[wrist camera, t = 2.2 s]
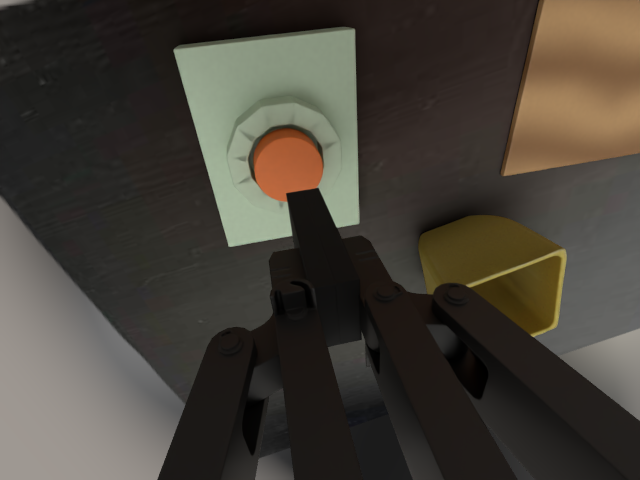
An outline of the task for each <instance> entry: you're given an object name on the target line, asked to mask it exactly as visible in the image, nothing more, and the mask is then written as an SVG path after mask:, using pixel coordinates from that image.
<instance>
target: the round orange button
mask: <svg viewBox="0 0 640 480" xmlns="http://www.w3.org/2000/svg"><path fill="white" fill-rule="evenodd" d="M253 164H254V172H255V178H256V181H257V183H258V185H259V187H260V188H261V190H262V191H263V192H264V193H265V194H266V195H268V196H269V197H271V198H273V199H275V200H278V201H283V202H287V197H286V193H290V192H296V191H302V190H308V189H314V188H317V186H318V185H319V183H320V181H321V178H322V175H323V161H322V158H321V155H320V153H319V152H318V150H317V148H316V146H315V144H314V143H313V141H312V140H311V139H310V138H309V137H308V136H307V135H306V134H304V133H303V132H301V131H298V130H295V129H291V128H282V129H277V130H274V131H272V132H270V133H268V134H267V135H265V136H264V137H263V138H262V139H261V140H260V142H259V143H258V145H257V147H256V149H255V152H254V157H253Z"/></svg>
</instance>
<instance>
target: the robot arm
mask: <svg viewBox="0 0 640 480" xmlns="http://www.w3.org/2000/svg"><path fill="white" fill-rule="evenodd" d="M286 197H287V203H288V210H289V216H290V223H291V229H292V236H293V242H294V247H295V248H294V249H289V250H283V251H278V252H273V254H272V256H271V258H270V260H269V267H270V275H271V283H272V290H271V294H270V299H271V304H272V308H273V315H272V316H271V318H270V319H269V320H268V321H267V322H266V323H265V324H263V325H262V326H260V327H258V328H256V329H254V330H252V331H248V330H247V329H245V328H241V327H233V328H227V329H225V330H223V331H221V332H219V333H218V334H217V335H215V336H214V337H213V338H212V340H211V341H210V343H209V344H208V347H207V349H206V352H205V355H204V357H203V360H202V363H201V365H200V368H199V371H198V373H197V376H196V379H195V381H194V384H193V387H192V389H191V392H190V394H189V397H188V400H187V402H186V405H185V408H184V410H183V413H182V416H181V418H180V421H179V424H178V426H177V429H176V432H175V434H174V437H173V440H172V442H171V445H170V448H169V450H168V453H167V456H166V458H165V461H164V464H163V466H162V469H161V472H160V474H159V477H158V480H255V476H256V470H257V465H258V459H259V453H260V448H261V442H262V436H263V430H264V425H265V419H266V413H267V407H268V402H269V396H270V395H272V394H273V393H275V392H277V391H279V390H280V389H282V388H283V391H284V399H285V407H286V415H287V423H288V431H289V439H290V447H291V456H292V464H293V472H294V480H363V477H362V473H361V470H360V466H359V462H358V459H357V455H356V452H355V447H354V444H353V440H352V436H351V433H350V429H349V425H348V421H347V418H346V414H345V410H344V406H343V403H342V399H341V395H340V392H339V388H338V384H337V380H336V377H335V373H334V369H333V366H332V362H331V358H330V354H329V351H328V347H330V346H334V345H339V344H344V343H348V342H353V341H358V340H362V338H361V330H362V333H363V336H364V338H365V349H366V367H370V364H371V367H372V370H373V373H374V375H375V378H376V381H377V383H378V386H379V389H380V392H381V394H382V397H383V400H384V402H385V405H386V408H387V411H388V413H389V416H390V418H391V421H392V424H393V427H394V429H395V432H396V435H397V438H398V440H399V443H400V446H401V448H402V451H403V454H404V457H405V459H406V462H407V465H408V467H409V470H410V473H411V475H412V478H413V480H517V478H516V476H515V475H514V473H513V471H512V469H511V468H510V466H509V464H508V463H507V461H506V459H505V458H504V456H503V454H502V452H501V451H500V449H499V447H498V446H497V444H496V442H495V441H494V439H493V437H492V436H491V434H490V432H489V430H488V429H487V427H486V425H487V426H488V427H489V428H490V429H491V430H492V431H493V432H494V434H495V435H496V436H497V437H498V438H499V439H500V440H501V442H502V443H503V444H504V445H505V446H506V447H507V448H508V450H509V451H510V452H511V453H512V454H513V455H514V456H515V457H516V459H517V460H518V461H519V462H520V463H521V464H522V465H523V467H525V469H526V470H527V471H528V472H529V473H530V475H531V476H532V477H533V478H534V479H535V480H640V421H639V420H638V419H636V418H635V417H634V416H633V415H631V414H630V413H629V412H628V411H626V410H625V409H624V408H622V407H621V406H620V405H619V404H617V403H616V402H615V401H614V400H612V399H611V398H610V397H609V396H607V395H606V394H605V393H603V392H602V391H601V390H600V389H598V388H597V387H596V386H594V385H593V384H592V383H591V382H589V381H588V380H587V379H586V378H584V377H583V376H582V375H581V374H579V373H578V372H577V371H576V370H574V369H573V368H572V367H570V366H569V365H568V364H567V363H565V362H564V361H563V360H562V359H560V358H559V357H558V356H557V355H555V354H554V353H553V352H551V351H550V350H549V349H548V348H546V347H545V346H544V345H543V344H541V343H540V342H539V341H537V340H536V339H535V338H534V337H532V336H531V335H530V334H529V333H527V332H526V331H525V330H524V329H522V328H521V327H520V326H518V325H517V324H516V323H515V322H513V321H512V320H511V319H510V318H508V317H507V316H506V315H504V314H503V313H502V312H501V311H499V310H498V309H497V308H496V307H494V306H493V305H492V304H491V303H489V302H488V301H487V300H485V299H484V298H483V297H482V296H480V295H479V294H478V293H477V292H475V291H474V290H473V289H471V288H469V287H468V286H466V285H463V284H459V283H444V284H441V285H439V286H438V287H436V288H435V290H434V292H433V294H416V293H410V292H407V291H406V290H405V289H404V288H403V287H402V286H401V285H399V284H398V283H396V282H393V281H392V279H391V277H390V276H389V274H388V272H387V270H386V269H385V267H384V265H383V263H382V262H381V260H380V258H379V256H378V254H377V253H376V251H375V249H374V247H373V246H372V244H371V242H370V241H369V240H367V239H366V238H364V237H363V236H356V237H350V238H345V239H342V238H341V236H340V234H339V232H338V229H337V227H336V225H335V223H334V221H333V218H332V216H331V214H330V212H329V210H328V207H327V205H326V203H325V201H324V198H323V196H322V194H321V192H320V190H319V188H314V189H308V190H302V191H296V192H290V193H286ZM483 421H484V422H485V423H486V425H485V424H484V422H483Z"/></svg>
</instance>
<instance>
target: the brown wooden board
mask: <svg viewBox="0 0 640 480" xmlns="http://www.w3.org/2000/svg"><path fill="white" fill-rule="evenodd" d="M637 153H640V0H539V4H538V8H537V13H536V17H535V22H534V26H533V30H532V35H531V39H530V44H529V48H528V53H527V57H526V62H525V66H524V71H523V75H522V79H521V84H520V88H519V93H518V97H517V102H516V106H515V111H514V115H513V120H512V124H511V128H510V133H509V137H508V142H507V146H506V151H505V155H504V160H503V164H502V169H501V173H500V174H501V175H502V176H509V175H514V174H520V173H526V172H532V171H538V170H544V169H549V168H555V167H561V166H567V165H573V164H578V163H584V162H590V161H596V160H602V159H608V158H613V157H619V156H625V155H631V154H637Z"/></svg>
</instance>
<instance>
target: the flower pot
mask: <svg viewBox="0 0 640 480" xmlns="http://www.w3.org/2000/svg"><path fill="white" fill-rule="evenodd" d="M418 248H419V255H420V259H421V264H422V269H423V274H424V279H425V284H426V289H427V294H433V292H434V290H435V288H436V287H438V286H439V285H441V284H444V283H459V284H463V285H466V286H468V287H469V288H471V289H473V290H474V291H475V292H477V293H478V294H479V295H480V296H482V297H483V298H484V299H485V300H487V301H488V302H489V303H491V304H492V305H493V306H494V307H496V308H497V309H498V310H499V311H501V312H502V313H503V314H504V315H506V316H507V317H508V318H510V319H511V320H512V321H513V322H515V323H516V324H517V325H518V326H520V327H521V328H522V329H524V330H525V331H526V332H527V333H529V334H530V335H531V336H532V337H534V336H536V335H539V334H542V333H544V332H547V331H549V330H551V329H553V328H555V327H556V326H557V324H558V320H559V313H560V303H561V294H562V287H563V280H564V274H565V267H566V259H567V256H566V250H565V249H564V248H562V247H560V246H559V245H557V244H555V243H553V242H552V241H550V240H548V239H546V238H545V237H543V236H541V235H539V234H538V233H536V232H534V231H532V230H530V229H529V228H527V227H525V226H523V225H521V224H519V223H517V222H515V221H513V220H511V219H508V218H504V217H500V216H493V215H472V216H467V217H465V218H462V219H459V220H457V221H454V222H452V223H449V224H447V225H444V226H441V227H438V228H436V229H433V230H430V231H427V232H425V233H423V234H422V235H421V236H420V238H419V243H418Z"/></svg>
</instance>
